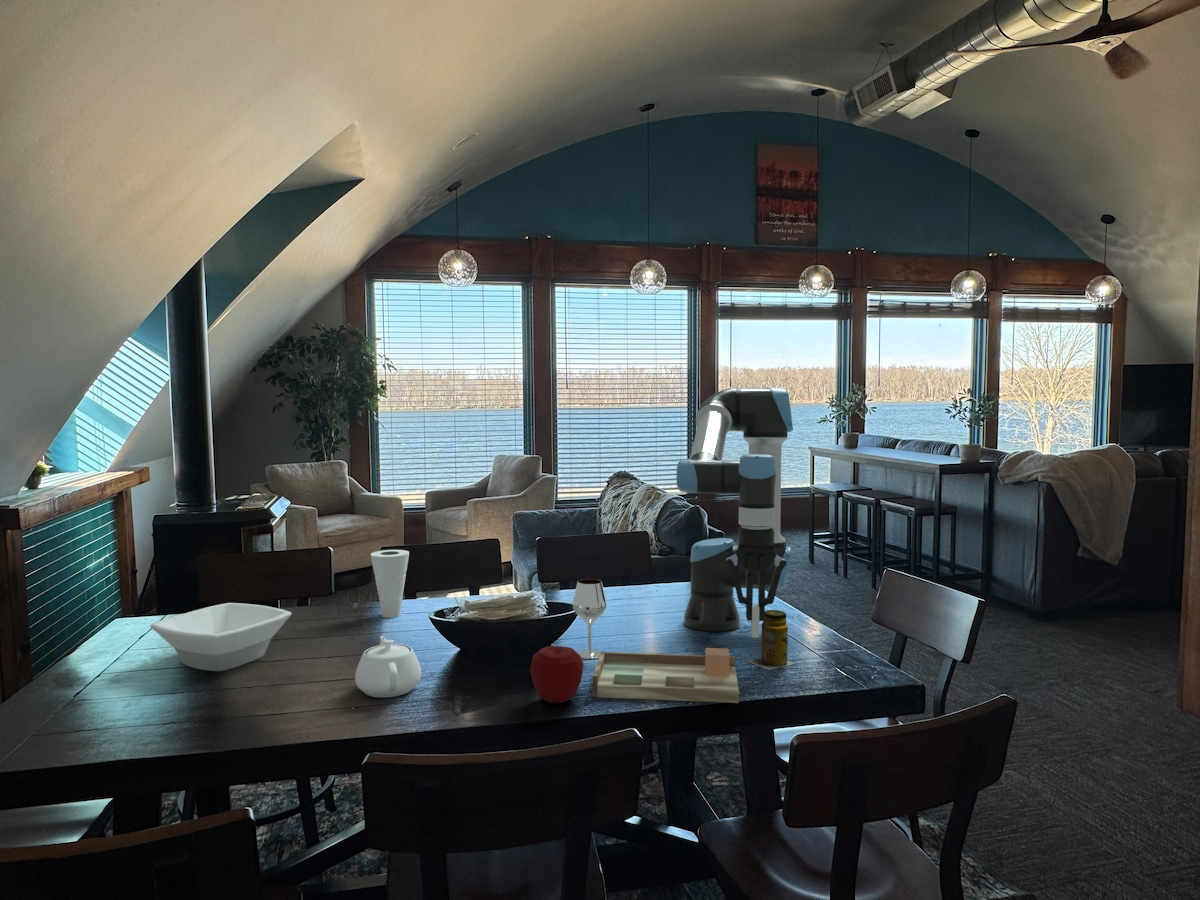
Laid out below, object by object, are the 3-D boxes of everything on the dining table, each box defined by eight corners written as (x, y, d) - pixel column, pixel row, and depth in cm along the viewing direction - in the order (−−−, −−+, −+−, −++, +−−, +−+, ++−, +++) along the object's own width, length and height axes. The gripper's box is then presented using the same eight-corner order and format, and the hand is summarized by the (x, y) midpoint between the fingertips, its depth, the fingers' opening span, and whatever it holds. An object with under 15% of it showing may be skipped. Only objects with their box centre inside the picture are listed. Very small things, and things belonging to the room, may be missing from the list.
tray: (601, 671, 182) (601, 651, 181) (734, 676, 178) (734, 656, 178) (592, 697, 166) (592, 675, 166) (738, 703, 162) (739, 681, 162)
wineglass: (611, 651, 196) (611, 579, 194) (600, 662, 188) (600, 586, 187) (579, 648, 198) (579, 576, 197) (567, 658, 191) (567, 584, 189)
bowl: (302, 651, 196) (301, 610, 195) (214, 684, 173) (213, 638, 173) (232, 639, 206) (230, 600, 206) (140, 669, 184) (138, 625, 183)
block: (705, 667, 176) (705, 647, 176) (728, 668, 176) (728, 648, 176) (705, 675, 171) (705, 655, 171) (729, 676, 171) (729, 655, 171)
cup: (404, 620, 223) (403, 556, 222) (367, 620, 223) (365, 556, 222) (414, 610, 234) (413, 549, 233) (378, 610, 234) (376, 549, 233)
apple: (540, 714, 157) (539, 656, 156) (523, 696, 166) (522, 641, 166) (591, 706, 161) (591, 649, 160) (572, 688, 171) (572, 634, 170)
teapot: (428, 702, 163) (428, 651, 162) (359, 712, 158) (358, 659, 157) (413, 668, 183) (412, 622, 183) (351, 676, 179) (350, 629, 178)
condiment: (795, 664, 187) (796, 613, 186) (769, 671, 182) (770, 619, 181) (772, 655, 193) (773, 606, 192) (746, 662, 188) (747, 612, 187)
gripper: (785, 524, 174) (783, 631, 175) (724, 523, 175) (723, 629, 176) (789, 529, 166) (788, 641, 167) (726, 528, 168) (725, 639, 169)
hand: (755, 635), depth 172 cm, fingers closed
